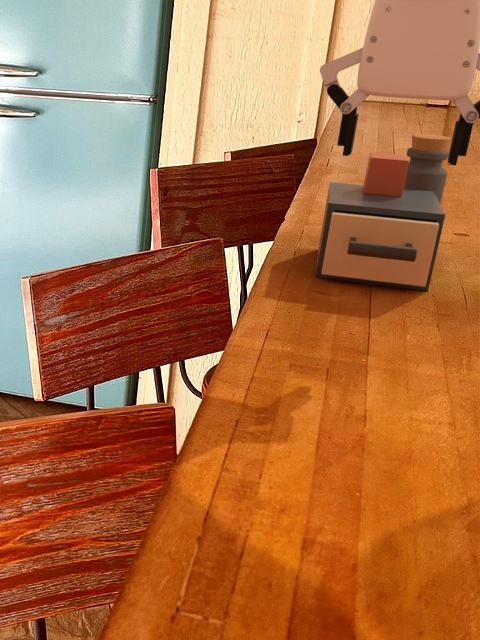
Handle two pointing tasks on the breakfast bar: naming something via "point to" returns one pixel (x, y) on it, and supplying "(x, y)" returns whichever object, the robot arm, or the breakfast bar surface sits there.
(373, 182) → the block
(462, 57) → the robot arm
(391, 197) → the cabinet
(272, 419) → the breakfast bar surface
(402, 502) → the breakfast bar surface
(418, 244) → the drawer
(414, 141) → the bottle
